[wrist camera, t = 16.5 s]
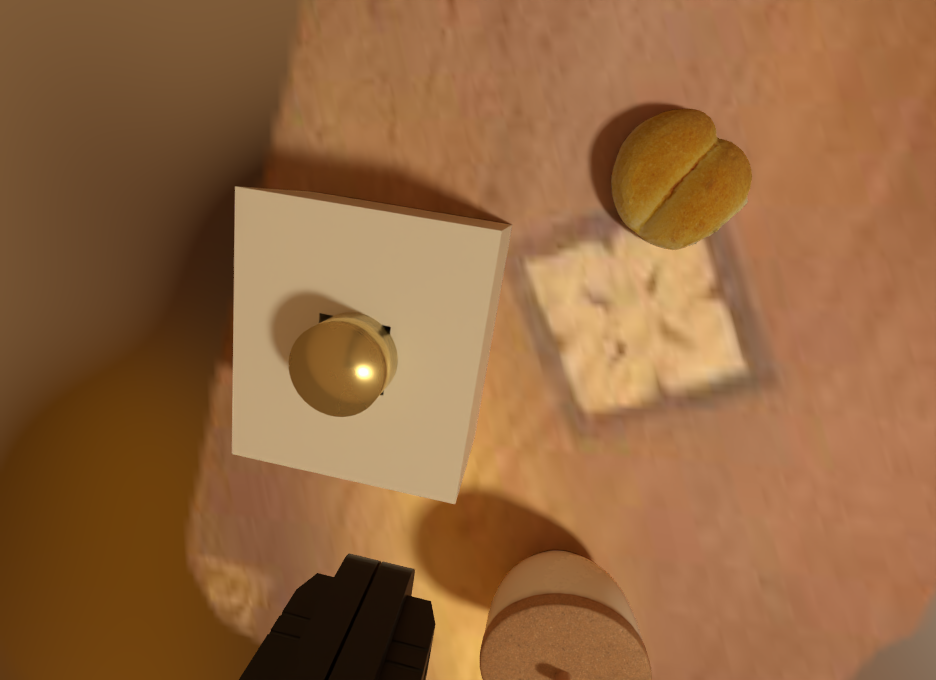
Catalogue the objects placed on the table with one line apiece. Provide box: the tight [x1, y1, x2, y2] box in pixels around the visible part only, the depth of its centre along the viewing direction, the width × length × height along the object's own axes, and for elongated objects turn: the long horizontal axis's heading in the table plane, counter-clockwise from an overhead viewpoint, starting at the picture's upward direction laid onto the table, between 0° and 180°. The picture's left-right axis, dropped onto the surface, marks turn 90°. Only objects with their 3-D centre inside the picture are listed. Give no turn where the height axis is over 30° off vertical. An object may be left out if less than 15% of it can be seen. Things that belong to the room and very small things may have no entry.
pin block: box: [232, 186, 512, 504], centre depth 35 cm, size 18×16×10 cm
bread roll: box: [611, 109, 752, 250], centre depth 32 cm, size 8×9×4 cm
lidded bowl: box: [480, 550, 652, 680], centre depth 39 cm, size 13×13×11 cm
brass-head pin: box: [289, 312, 398, 417], centre depth 33 cm, size 6×6×12 cm
